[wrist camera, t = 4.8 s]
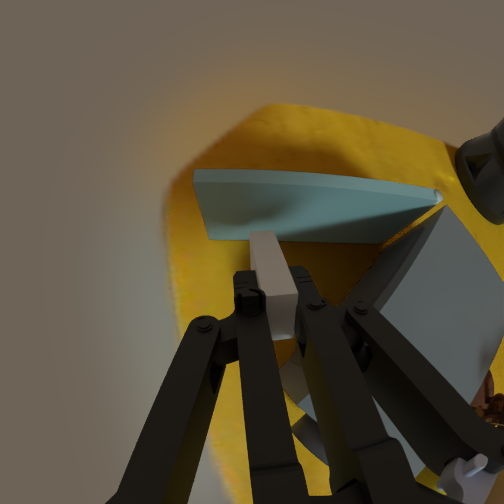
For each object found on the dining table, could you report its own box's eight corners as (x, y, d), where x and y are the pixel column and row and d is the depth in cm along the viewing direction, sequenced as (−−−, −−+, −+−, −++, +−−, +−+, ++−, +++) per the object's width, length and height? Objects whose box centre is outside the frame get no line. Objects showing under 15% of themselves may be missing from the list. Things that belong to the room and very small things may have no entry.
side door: (382, 225, 28) (436, 177, 18) (385, 244, 27) (443, 201, 17) (210, 218, 27) (196, 154, 17) (209, 239, 26) (192, 182, 16)
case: (383, 245, 28) (443, 201, 17) (446, 317, 25) (514, 302, 15) (255, 387, 23) (266, 426, 12) (338, 456, 21) (386, 506, 10)
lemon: (427, 474, 19) (463, 494, 11) (392, 490, 19) (425, 517, 11) (432, 442, 21) (473, 458, 13) (396, 458, 20) (435, 482, 13)
